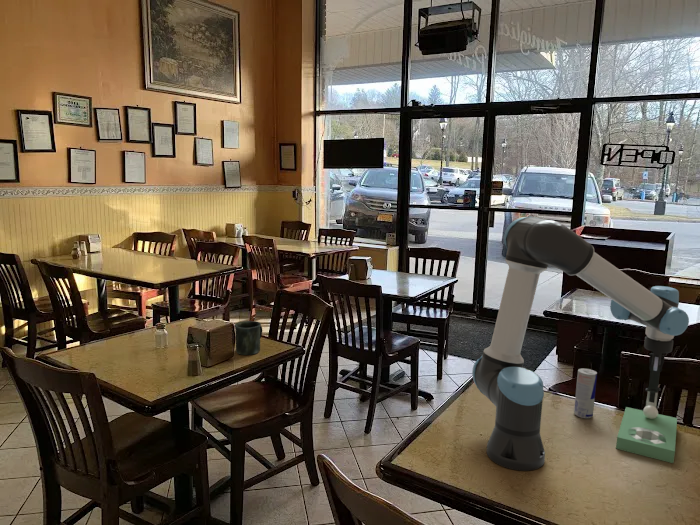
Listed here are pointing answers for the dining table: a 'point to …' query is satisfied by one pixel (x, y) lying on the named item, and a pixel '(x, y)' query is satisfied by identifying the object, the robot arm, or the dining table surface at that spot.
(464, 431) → the dining table surface
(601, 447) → the dining table surface
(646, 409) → the ball
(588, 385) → the beverage can
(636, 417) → the green
